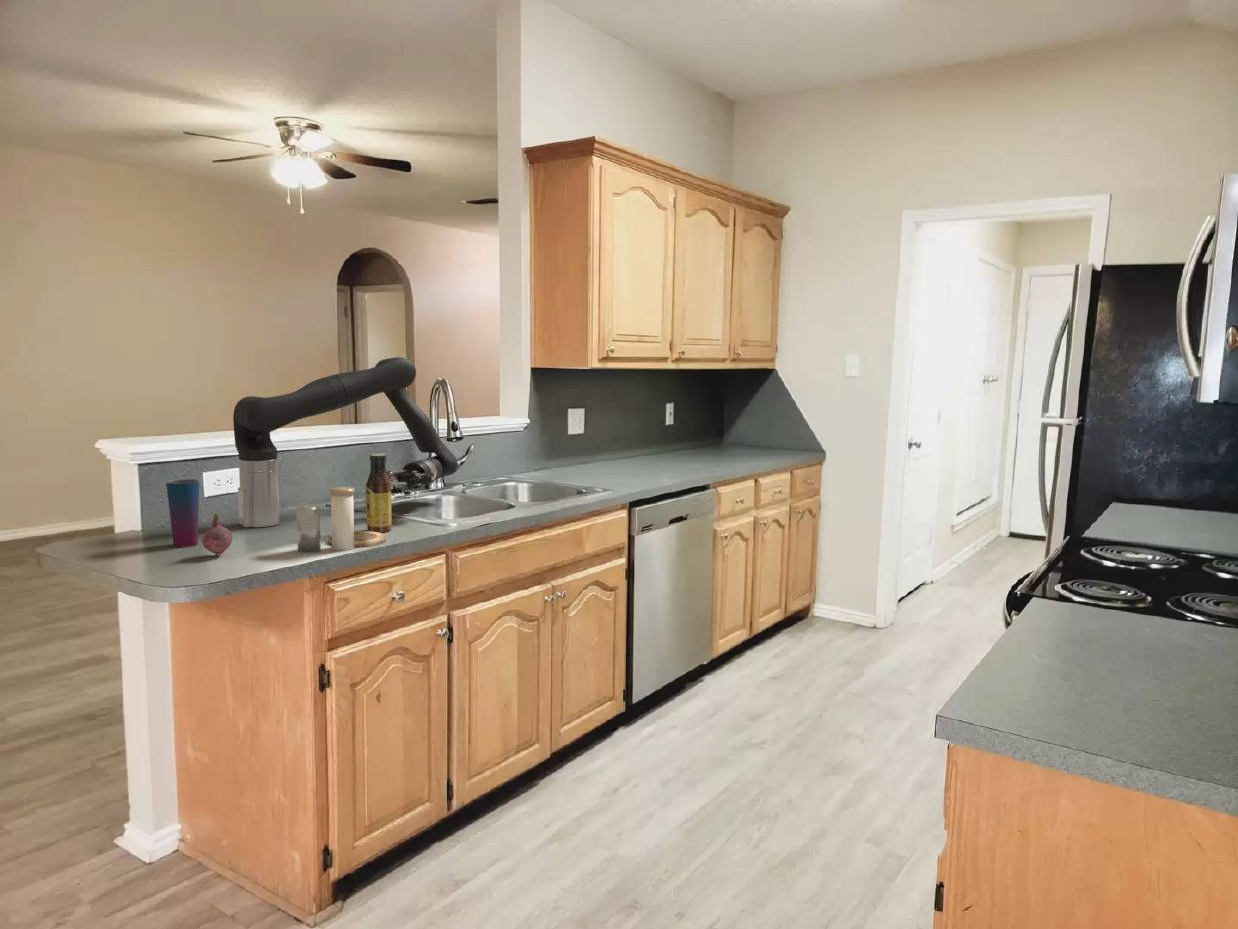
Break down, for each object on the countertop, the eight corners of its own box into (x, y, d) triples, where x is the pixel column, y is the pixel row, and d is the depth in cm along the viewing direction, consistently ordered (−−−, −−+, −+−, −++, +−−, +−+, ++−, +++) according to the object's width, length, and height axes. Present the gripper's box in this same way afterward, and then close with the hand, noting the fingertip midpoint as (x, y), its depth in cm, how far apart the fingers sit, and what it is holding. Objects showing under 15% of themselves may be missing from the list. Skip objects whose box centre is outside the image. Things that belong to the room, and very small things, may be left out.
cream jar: (334, 552, 192) (333, 491, 190) (327, 547, 196) (326, 488, 194) (359, 549, 195) (358, 489, 193) (351, 544, 199) (349, 486, 197)
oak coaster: (339, 549, 194) (339, 545, 194) (322, 538, 204) (322, 534, 204) (393, 543, 201) (393, 538, 201) (374, 533, 212) (374, 528, 212)
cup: (179, 549, 190) (176, 484, 188) (163, 545, 194) (159, 481, 192) (208, 544, 196) (205, 480, 194) (191, 540, 200) (188, 477, 197)
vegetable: (199, 560, 182) (197, 514, 180) (206, 553, 188) (204, 509, 186) (229, 559, 183) (227, 514, 182) (235, 552, 189) (233, 508, 188)
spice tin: (301, 553, 189) (300, 510, 188) (294, 549, 193) (293, 506, 192) (323, 551, 192) (322, 508, 191) (316, 546, 196) (315, 504, 195)
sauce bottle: (369, 528, 217) (368, 452, 215) (393, 528, 218) (393, 452, 215) (364, 533, 211) (362, 455, 208) (389, 533, 212) (388, 455, 209)
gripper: (395, 459, 240) (370, 467, 224) (443, 461, 238) (421, 469, 222) (395, 485, 241) (371, 494, 225) (443, 487, 239) (421, 497, 223)
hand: (396, 482), depth 224 cm, fingers open, 8 cm apart
